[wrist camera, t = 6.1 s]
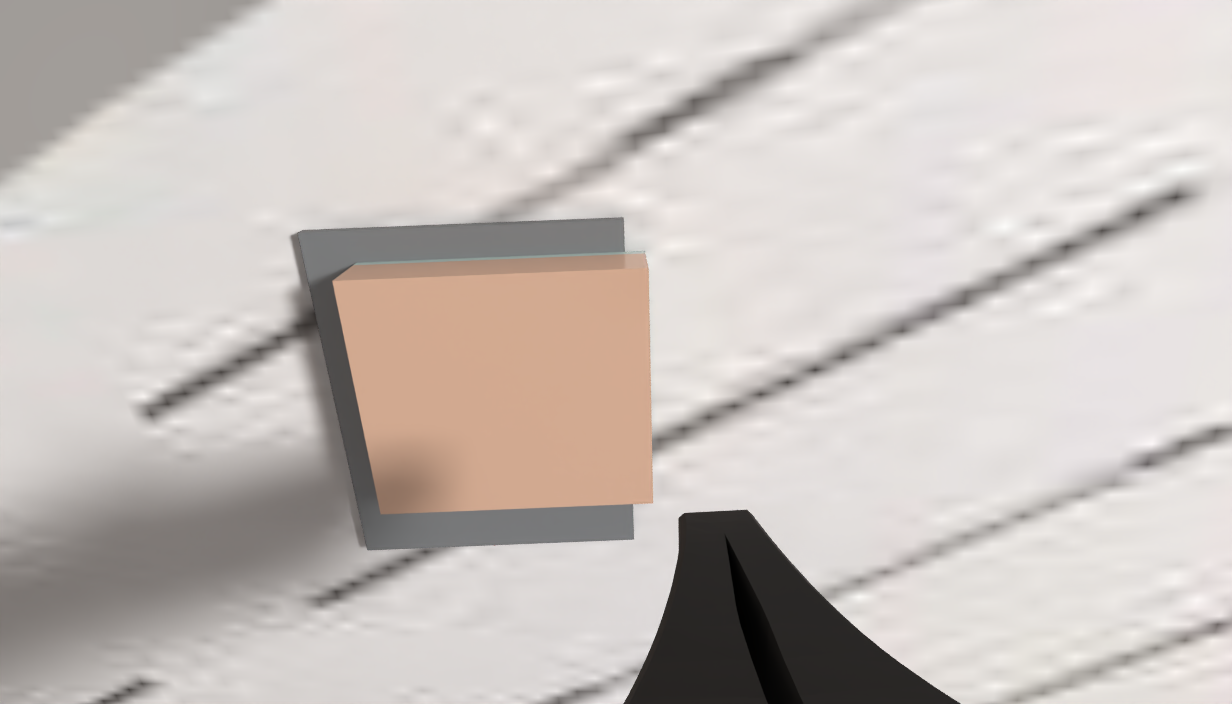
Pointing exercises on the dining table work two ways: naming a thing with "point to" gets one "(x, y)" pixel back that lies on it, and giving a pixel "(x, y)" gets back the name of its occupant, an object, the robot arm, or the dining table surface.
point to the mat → (324, 263)
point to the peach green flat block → (502, 380)
